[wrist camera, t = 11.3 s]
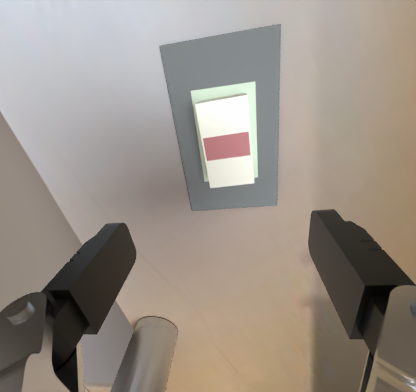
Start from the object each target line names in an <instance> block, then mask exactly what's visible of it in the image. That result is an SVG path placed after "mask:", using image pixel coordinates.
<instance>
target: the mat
mask: <svg viewBox="0 0 416 392" xmlns="http://www.w3.org/2000/svg"><path fill="white" fill-rule="evenodd" d="M280 41H281V24H277V25H272V26H266V27H261V28H255V29H250V30H244V31H239V32H233V33H228V34H222V35H217V36H211V37H206V38H200V39H195V40H189V41H184V42H178V43H173V44H167V45H162V46H160V51H161V56H162V61H163V66H164V71H165V76H166V81H167V86H168V91H169V96H170V101H171V107H172V112H173V117H174V122H175V127H176V132H177V137H178V142H179V147H180V152H181V158H182V163H183V168H184V173H185V178H186V183H187V188H188V193H189V198H190V203H191V209H192V211H199V210H215V209H231V208H247V207H263V206H277V192H278V141H279V91H280ZM241 93H246V94H247V95H248V104H249V117H250V130H251V143H252V156H253V169H254V182H255V183H253V184H244V185H235V186H226V187H217V188H210V184H209V179H208V173H207V168H206V162H205V157H204V152H203V146H202V141H201V135H200V130H199V124H198V119H197V113H196V108H195V104H196V103H198V102H199V101H202V100H208V99H213V98H219V97H224V96H230V95H235V94H241Z"/></svg>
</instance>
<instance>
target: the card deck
mask: <svg viewBox="0 0 416 392" xmlns="http://www.w3.org/2000/svg"><path fill="white" fill-rule="evenodd" d="M195 108H196V113H197V119H198V124H199V130H200V135H201V141H202V146H203V152H204V157H205V162H206V168H207V173H208V179H209V184H210V188H217V187H226V186H235V185H244V184H253V183H255V182H254V169H253V156H252V143H251V130H250V117H249V104H248V95H247V94H246V93H241V94H235V95H230V96H224V97H219V98H213V99H208V100H202V101H199V102H198V103H196V104H195Z"/></svg>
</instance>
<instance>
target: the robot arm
mask: <svg viewBox="0 0 416 392" xmlns="http://www.w3.org/2000/svg"><path fill="white" fill-rule="evenodd" d="M308 245H309V251H310V255H311V258H312V260H313V262H314V264H315V266H316V268H317V270H318V272H319V275H320V277H321V279H322V281H323V283H324V285H325V287H326V290H327V292H328V294H329V296H330V298H331V300H332V302H333V304H334V307H335V309H336V311H337V313H338V315H339V317H340V319H341V322H342V324H343V326H344V328H345V330H346V332H347V334H348V336H349V339H364V341H365V343H366V345H367V346H368V348H369V352H368V354H367V359H366V363H365V367H364V371H363V375H362V380H361V384H360V388H359V392H416V285H415V284H414V283H413V282H412V280H411V279H410V278H409V277H408V276H407V275H406V274H405V273H404V272H403V271H402V270H401V268H400V267H399V266H398V265H397V264H396V263H395V262H394V261H393V260H392V259H391V258H390V256H389V255H388V254H387V253H386V252H385V251H384V250H382V249H381V247H380V246H379V245H378V243H377V242H376V241H374V239H373V238H372V237H371V236H370V235H369V234H368V233H367V231H366V230H365V229H363V228H362V227H360V226H358V225H356V224H355V223H353V222H351V221H346V222H345V221H344V220H343V219H342V218H341V216H340V215H339V214H338V213H337V212H336V211H335V210H334V209H331V210H316V211H312V213H311V220H310V230H309V240H308ZM135 260H136V249H135V246H134V243H133V241H132V238H131V235H130V233H129V230H128V227H127V225H126V224H125V223H112V224H106V225H105V226H104V227H103V228H102V229H101V230H100V231H99V232H98V233H97V235H96V236H94V237H93V238H91V239H90V240H89V241H87V242H86V243H84V245H83V246H82V247H81V248H80V249H79V250H78V251H77V254H75V255H74V256H73V257H72V258H71V259H70V262H67V263H66V264H65V266H64V267H63V268H62V269H61V270H60V271H59V272H58V273H57V274H56V276H55V277H54V278H53V279H52V280H51V281H50V282H49V283H48V285H47V286H46V287H45V288H44V289H43V290H42V291H41V292H34V293H30V294H27V295H25V296H22V297H21V298H19V299H17V300H15V301H13V302H12V303H10V304H9V305H8V306H7V307H5V308H4V309H3V310H2V311H1V312H0V392H85V384H84V370H83V357H82V346H81V343H80V342H79V341H80V339H81V337H82V336H83V334H97V333H98V331H99V329H100V327H101V326H102V324H103V322H104V320H105V318H106V316H107V314H108V312H109V310H110V308H111V306H112V305H113V303H114V301H115V299H116V297H117V295H118V293H119V291H120V289H121V288H122V286H123V284H124V282H125V280H126V278H127V276H128V274H129V272H130V270H131V269H132V267H133V265H134V263H135ZM177 334H178V331H177V329H176V327H175V326H174V325H173V324H172V323H171V322H169V321H167V320H165V319H162V318H158V317H145V318H142V319H140V320H139V321H138V322H137V325H136V327H135V330H134V332H133V335H132V338H131V340H130V342H129V345H128V348H127V350H126V353H125V355H124V358H123V361H122V363H121V366H120V368H119V371H118V374H117V376H116V379H115V381H114V384H113V386H112V389H111V391H110V392H165V390H166V385H167V381H168V376H169V371H170V367H171V362H172V357H173V353H174V348H175V344H176V339H177Z"/></svg>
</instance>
